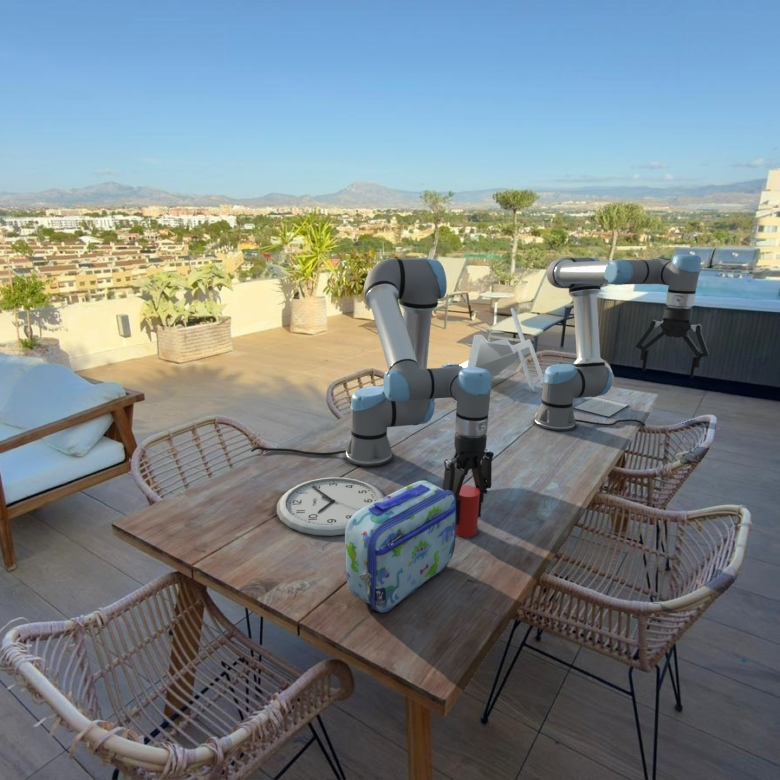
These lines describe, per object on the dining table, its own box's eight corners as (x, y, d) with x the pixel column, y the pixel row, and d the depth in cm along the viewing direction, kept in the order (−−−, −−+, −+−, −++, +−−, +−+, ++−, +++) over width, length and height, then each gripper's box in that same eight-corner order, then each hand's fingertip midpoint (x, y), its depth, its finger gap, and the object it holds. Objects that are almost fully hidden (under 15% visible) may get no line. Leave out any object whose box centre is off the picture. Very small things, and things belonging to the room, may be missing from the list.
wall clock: (392, 527, 129) (268, 531, 127) (391, 533, 130) (269, 537, 127) (383, 473, 158) (282, 475, 155) (383, 478, 158) (282, 480, 156)
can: (449, 524, 135) (451, 485, 131) (472, 522, 136) (475, 484, 132) (455, 538, 129) (458, 497, 125) (480, 536, 130) (483, 496, 126)
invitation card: (608, 416, 214) (573, 407, 224) (608, 416, 214) (573, 408, 224) (628, 404, 229) (594, 396, 238) (628, 405, 229) (594, 397, 238)
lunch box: (374, 626, 100) (375, 530, 93) (338, 598, 107) (337, 508, 101) (459, 568, 117) (465, 484, 111) (424, 547, 124) (427, 467, 118)
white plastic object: (480, 420, 263) (459, 397, 239) (461, 347, 286) (440, 319, 261) (551, 396, 251) (537, 369, 226) (526, 322, 273) (511, 290, 249)
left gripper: (448, 446, 116) (443, 536, 123) (512, 430, 126) (504, 515, 133) (428, 434, 122) (425, 521, 129) (491, 420, 132) (484, 502, 139)
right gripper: (632, 304, 164) (622, 369, 170) (725, 312, 150) (711, 382, 157) (637, 302, 170) (627, 365, 176) (727, 309, 156) (713, 377, 162)
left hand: (465, 518), depth 131 cm, fingers closed on can, 6 cm apart
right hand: (667, 373), depth 166 cm, fingers open, 13 cm apart
